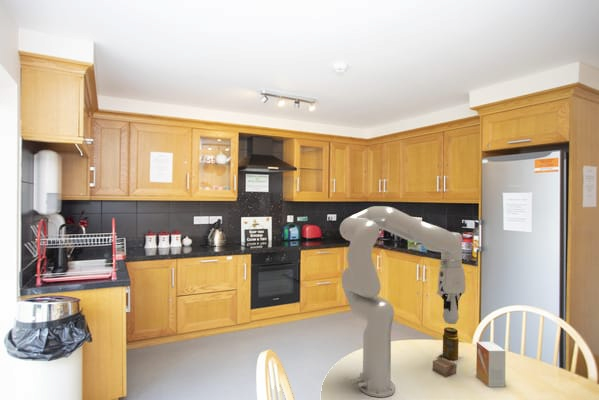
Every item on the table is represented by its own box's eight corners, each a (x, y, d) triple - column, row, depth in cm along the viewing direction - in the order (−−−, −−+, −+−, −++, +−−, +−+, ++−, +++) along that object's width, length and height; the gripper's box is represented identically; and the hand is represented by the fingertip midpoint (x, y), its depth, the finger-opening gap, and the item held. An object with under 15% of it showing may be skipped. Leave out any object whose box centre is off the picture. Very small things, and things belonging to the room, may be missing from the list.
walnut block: (445, 378, 129) (445, 367, 129) (432, 371, 134) (432, 360, 134) (456, 374, 132) (456, 364, 132) (443, 367, 137) (443, 357, 137)
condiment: (462, 358, 145) (462, 329, 146) (453, 364, 139) (454, 334, 140) (444, 352, 151) (445, 324, 151) (436, 358, 145) (436, 329, 145)
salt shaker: (460, 325, 133) (460, 291, 133) (444, 324, 134) (444, 290, 134) (456, 320, 139) (456, 288, 139) (441, 319, 140) (441, 287, 140)
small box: (475, 375, 130) (476, 341, 130) (492, 375, 130) (492, 341, 131) (488, 387, 122) (488, 350, 122) (505, 387, 122) (506, 350, 122)
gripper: (441, 266, 130) (441, 315, 130) (474, 264, 136) (474, 311, 136) (428, 262, 137) (427, 309, 137) (459, 261, 143) (459, 305, 143)
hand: (450, 309), depth 137 cm, fingers closed on salt shaker, 3 cm apart
